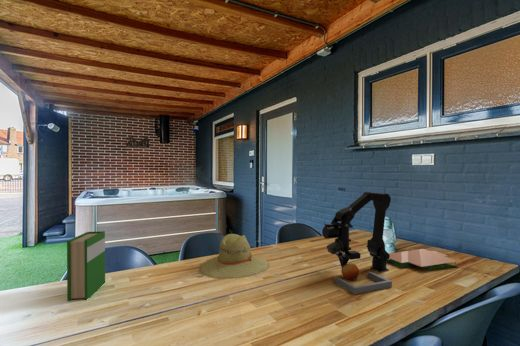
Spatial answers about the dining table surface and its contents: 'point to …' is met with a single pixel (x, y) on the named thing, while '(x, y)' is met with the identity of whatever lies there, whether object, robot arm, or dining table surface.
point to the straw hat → (233, 260)
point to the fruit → (350, 271)
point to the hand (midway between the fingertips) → (343, 268)
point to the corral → (378, 285)
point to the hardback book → (85, 264)
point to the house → (421, 258)
